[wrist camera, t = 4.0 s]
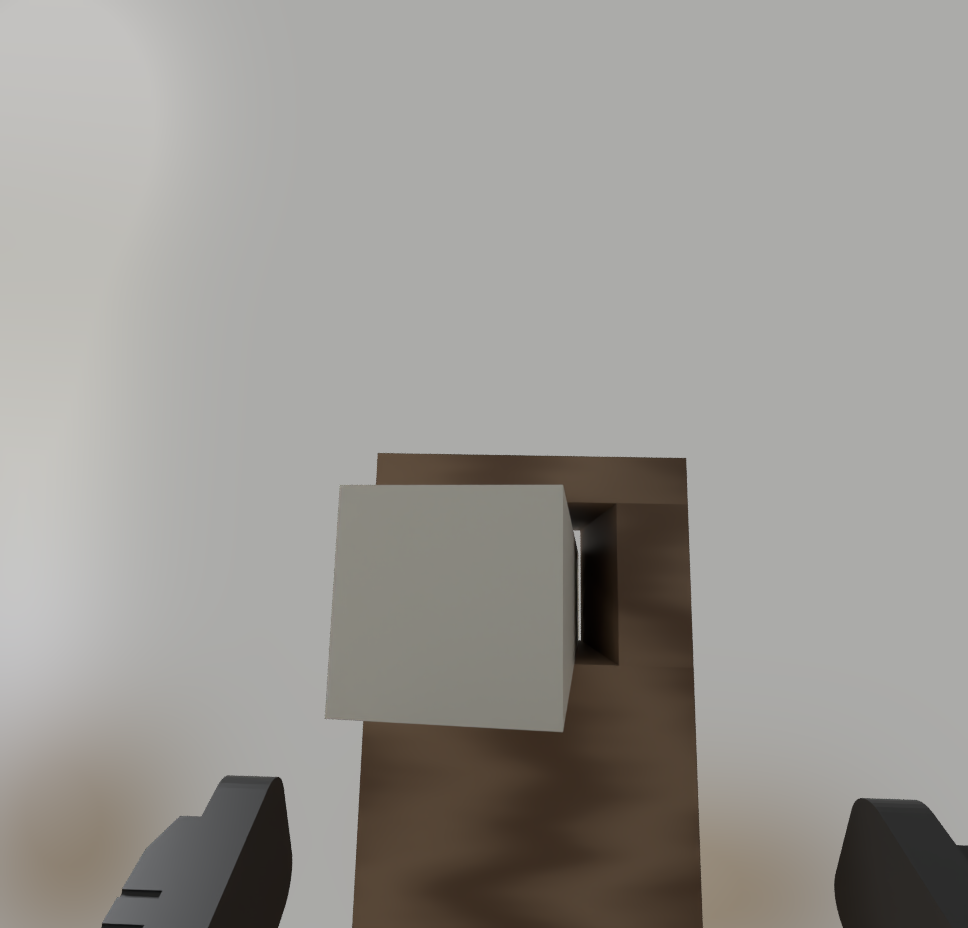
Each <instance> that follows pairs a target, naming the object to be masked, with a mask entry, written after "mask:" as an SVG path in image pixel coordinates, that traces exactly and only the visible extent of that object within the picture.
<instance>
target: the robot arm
mask: <svg viewBox="0 0 968 928" xmlns="http://www.w3.org/2000/svg"><path fill="white" fill-rule="evenodd" d="M291 873H292V850H291V842H290V834H289V826H288V819H287V810H286V803H285V794H284V787H283V783H282V780H281V779H280V778H279V777H259V776H226V777H224V778H223V779H222V780H221V782H220V783H219V785H218V786H217V788H216V790H215V792H214V794H213V796H212V798H211V799H210V801H209V803H208V805H207V807H206V809H205V811H204V813H203V815H202V816H201V817H197V816H180V817H179V818H178V819H176V821H174V822H173V823H172V824H171V825H170V826H169V827H168V828H167V829H166V830H165V831H164V832H163V833H162V834H161V835H160V836H159V837H158V838H157V839H156V840H155V841H154V842H152V843H151V844H150V845H149V846H148V847H147V848H146V849H145V851H144V853H143V854H142V856H141V858H140V859H139V861H138V863H137V865H136V866H135V868H134V870H133V871H132V873H131V875H130V876H129V878H128V880H127V881H126V883H125V885H124V887H123V888H122V894H121V896H120V897H117V898H116V901H115V902H114V904H113V905H112V907H111V909H110V910H109V912H108V914H107V915H106V917H105V919H104V921H103V922H102V928H278V926H279V923H280V920H281V917H282V914H283V911H284V908H285V905H286V901H287V896H288V892H289V887H290V881H291ZM834 888H835V889H834V890H835V899H836V905H837V910H838V914H839V917H840V920H841V923H842V926H843V928H968V846H961V845H956V844H955V843H954V841H953V840H952V839H951V837H950V836H949V834H948V833H947V832H946V830H945V829H944V828H943V826H942V825H941V823H940V822H939V821H938V819H937V818H936V817H935V815H934V814H933V813H932V811H931V810H930V809H929V808H928V807H927V806H926V805H925V804H923V803H922V802H920V801H917V800H900V799H869V798H860V799H858V800H856V801H855V803H854V805H853V807H852V811H851V814H850V818H849V822H848V826H847V830H846V835H845V838H844V842H843V846H842V850H841V854H840V858H839V862H838V867H837V870H836V874H835V883H834Z"/></svg>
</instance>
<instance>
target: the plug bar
mask: <svg viewBox="0 0 968 928" xmlns="http://www.w3.org/2000/svg"><path fill="white" fill-rule="evenodd" d="M333 585H334V586H333V600H332V616H331V631H330V647H329V662H328V663H329V664H328V679H327V694H326V710H325V719H338V720H355V721H373V722H391V723H409V724H427V725H445V726H463V727H480V728H498V729H516V730H534V731H552V732H563V729H564V723H565V717H566V711H567V705H568V699H569V693H570V687H571V681H572V675H573V669H574V663H575V657H576V650H577V644H578V638H579V617H578V616H579V610H578V609H579V606H578V605H579V603H578V602H579V598H578V595H579V594H578V551H577V546H576V541H575V537H574V532H573V528H572V523H571V519H570V514H569V510H568V505H567V501H566V496H565V491H564V487H563V485H340V491H339V507H338V522H337V539H336V554H335V569H334V584H333Z"/></svg>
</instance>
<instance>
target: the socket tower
mask: <svg viewBox="0 0 968 928" xmlns="http://www.w3.org/2000/svg"><path fill="white" fill-rule="evenodd" d="M376 485H563V487H564V491H565V496H566V501H567V505H568V510H569V514H570V519H571V523H572V528H573V530H580V533H581V535H580V536H581V641H580V640H578V644H577V650H576V657H575V663H574V669H573V675H572V681H571V687H570V693H569V699H568V705H567V711H566V717H565V723H564V729H563V732H552V731H534V730H516V729H498V728H480V727H463V726H445V725H427V724H409V723H391V722H373V721H363V738H362V756H361V775H360V793H359V813H358V831H357V849H356V869H355V886H354V905H353V924H352V928H703V922H702V894H701V869H700V868H701V865H700V839H699V838H700V837H699V813H698V812H699V809H698V781H697V753H696V726H695V725H696V724H695V698H694V697H695V696H694V668H693V640H692V614H691V613H692V612H691V583H690V554H689V526H688V499H687V470H686V458H645V457H644V458H642V457H641V458H640V457H584V456H579V457H578V456H523V455H522V456H521V455H461V454H399V453H397V454H395V453H378V459H377V478H376Z"/></svg>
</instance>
